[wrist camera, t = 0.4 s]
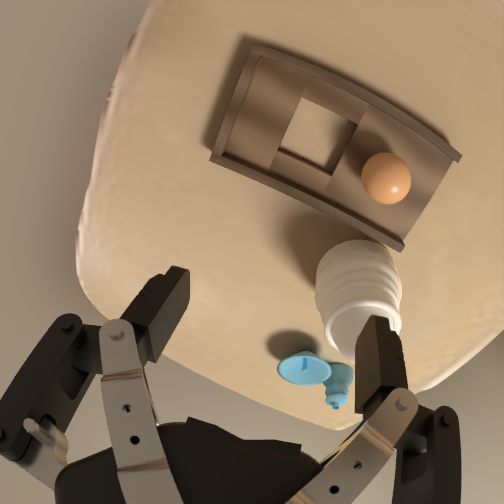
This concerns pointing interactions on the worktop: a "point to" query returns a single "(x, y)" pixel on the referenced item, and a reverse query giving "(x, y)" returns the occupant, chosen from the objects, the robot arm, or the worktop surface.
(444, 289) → the worktop surface
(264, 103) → the track
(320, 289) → the honey pot
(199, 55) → the worktop surface
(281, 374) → the light blue flared piece
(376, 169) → the ball
